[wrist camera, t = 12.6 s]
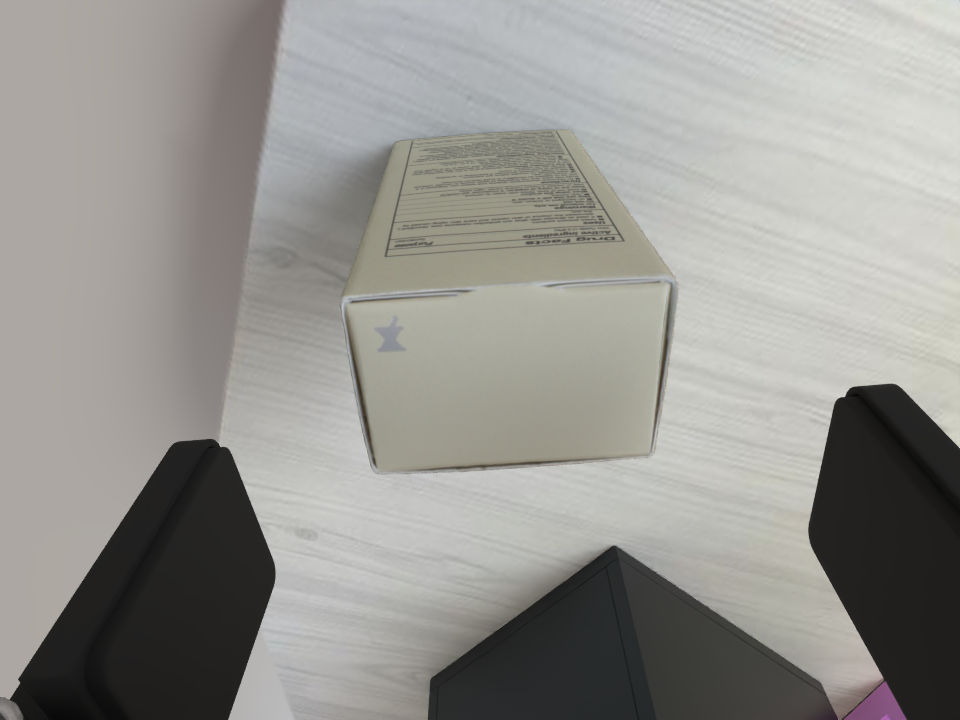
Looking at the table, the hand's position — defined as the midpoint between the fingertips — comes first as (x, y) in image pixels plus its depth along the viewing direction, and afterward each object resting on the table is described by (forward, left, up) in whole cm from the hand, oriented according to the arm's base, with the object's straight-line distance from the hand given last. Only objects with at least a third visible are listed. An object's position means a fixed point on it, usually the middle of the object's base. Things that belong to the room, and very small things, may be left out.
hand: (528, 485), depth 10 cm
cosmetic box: (0, 0, -15) cm, 15 cm away
